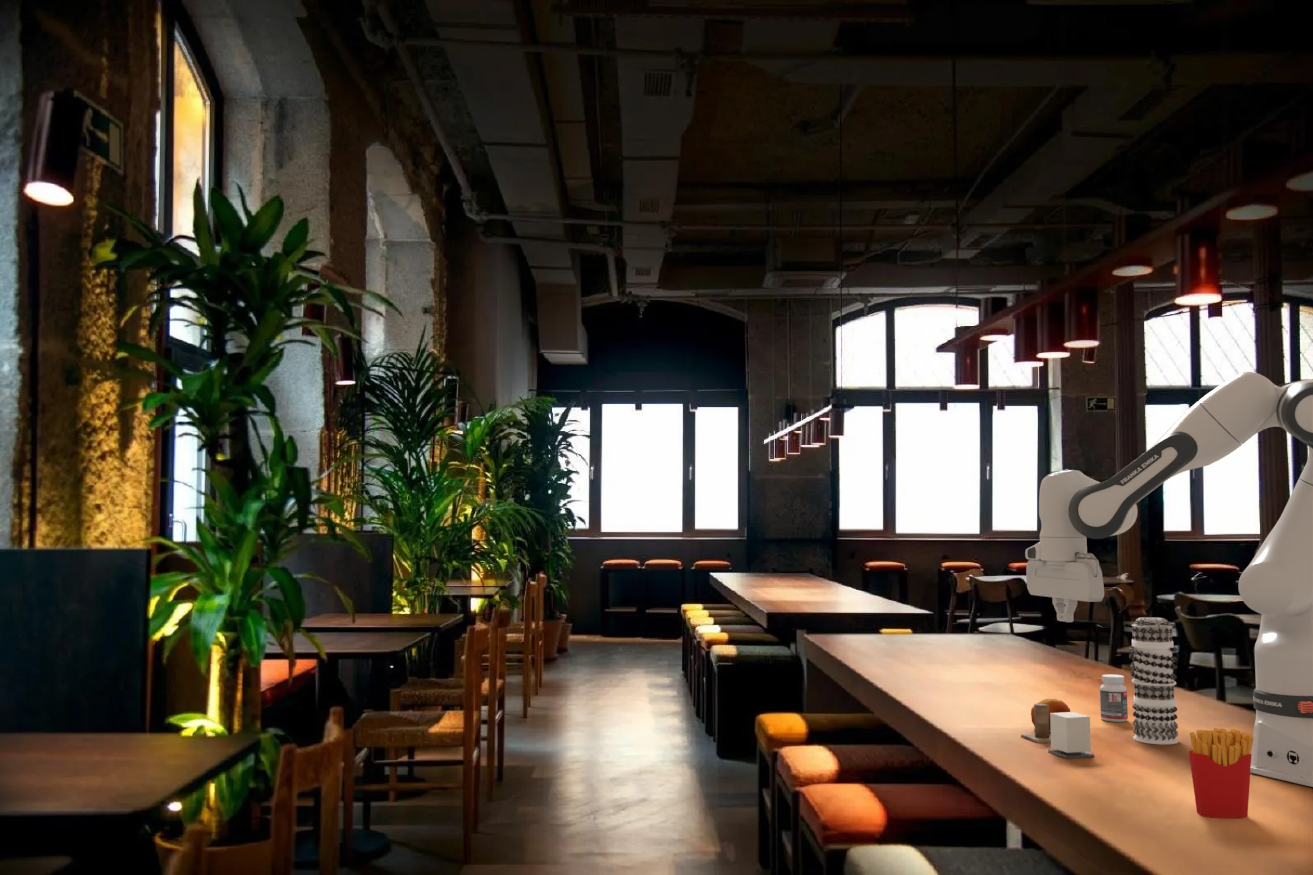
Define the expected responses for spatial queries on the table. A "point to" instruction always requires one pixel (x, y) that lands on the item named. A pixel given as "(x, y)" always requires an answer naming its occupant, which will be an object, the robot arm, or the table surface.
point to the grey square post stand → (1070, 754)
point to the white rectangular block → (1070, 732)
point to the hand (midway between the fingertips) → (1065, 621)
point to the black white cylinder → (1153, 681)
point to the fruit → (1052, 708)
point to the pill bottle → (1113, 698)
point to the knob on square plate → (1040, 725)
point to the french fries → (1221, 772)
